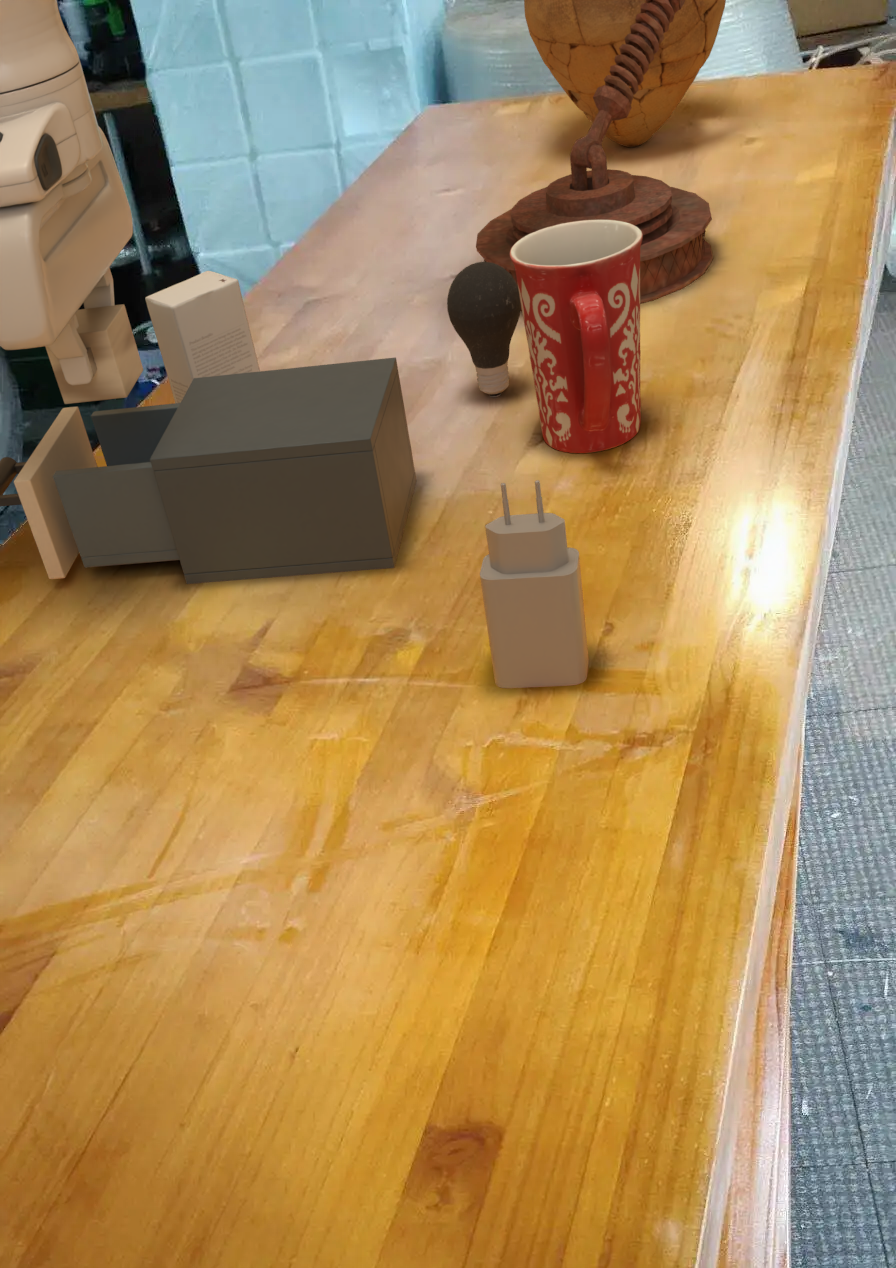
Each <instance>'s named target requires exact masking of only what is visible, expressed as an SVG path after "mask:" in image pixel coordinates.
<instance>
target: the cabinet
mask: <svg viewBox="0 0 896 1268" xmlns="http://www.w3.org/2000/svg"><path fill="white" fill-rule="evenodd" d="M398 368H399V367H398V362H397V357H385V358H376V359H367V360H357V361H348V362H347V361H346V362H338V363H329V364H319V365H309V366H300V367H299V366H298V367H290V368H289V367H288V368H281V369H270V370H260V372H250V373H240V374H231V375H221V376H211V377H202V378H194V379H193V381H192V383H191V384H190V386H189V388H188V390H187V392H186V394H185V395H184V397H183V399H182V401H181V403H180V405H179V407H178V408H177V410H176V412H175V414H174V416H173V418H172V419H171V421H170V423H169V425H168V427H167V429H166V430H165V432H164V434H163V436H162V438H161V440H160V442H159V443H158V445H157V447H156V449H155V451H154V453H153V454H152V456H151V458H150V462H151V465H152V469H153V471H154V475H155V478H156V481H157V485H158V488H159V492H160V495H161V498H162V502H163V505H164V509H165V512H166V515H167V519H168V522H169V525H170V529H171V532H172V536H173V539H174V542H175V546H176V549H177V552H178V556H179V559H180V560H179V562H180V566H181V569H182V572H183V577H184V580H185V583H186V585H192V584H205V583H219V582H232V581H233V582H234V581H246V580H259V579H268V578H269V579H272V578H282V577H283V578H284V577H294V576H295V577H296V576H307V575H308V576H309V575H321V574H322V575H323V574H334V573H336V574H337V573H347V572H348V573H349V572H360V571H373V570H384V569H385V570H386V569H394V568H396V563H397V559H398V556H399V551H400V549H401V548H400V547H401V544H402V540H403V535H404V532H405V528H406V523H407V521H408V520H407V519H408V516H409V512H410V508H411V504H412V501H413V496H414V493H415V488H416V485H417V476H416V475H417V474H416V470H415V469H416V468H415V463H414V456H413V452H412V451H413V450H412V445H411V439H410V434H409V433H410V432H409V427H408V421H407V415H406V408H405V403H404V397H403V390H402V385H401V379H400V374H399V373H400V372H399V369H398Z"/></svg>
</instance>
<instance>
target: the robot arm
mask: <svg viewBox="0 0 896 1268" xmlns="http://www.w3.org/2000/svg"><path fill="white" fill-rule="evenodd" d="M77 50H78V49H77V48H76V46H75V44H74V42H73V40H72V39H71V37H70V35H69V33H68V32H67V29H66V28H65V25H64V23H63V20H62V17H61V13H60V10H59V6H58V0H0V348H2V349H3V350H5V351H17V350H28V349H36V348H42V347H45V346H48V347H49V349H50V350H51V351H52V353H53V354H54V355H55V356H56V358H57V359H59V362H60V365H61V368H62V371H63V374H64V377H65V380H66V381H67V383H68V384H70V385H82V384H88V383H90V382H91V380H92V379H93V377H94V376H95V374H96V372H97V366H96V363H95V362H94V357H93V353H92V350H91V347H88V348H86V347H85V345H84V344H83V342H82V340H81V338H80V336H79V334H78V332H77V329H78V327H79V323H78V320H77V317H76V314H75V313H76V312H77V311H78V310H80V308H81V306H82V305H83V307H84V308H83V309H89V308H97V307H105V306H113V305H116V304H115V287H114V278H113V275H112V274H113V273H112V272H111V266H112V264H113V263H114V262H115V260H116V259H117V257H119V255H120V253H121V252H122V251H123V249H124V248H125V246H126V245H127V244H128V242H129V241H130V240H131V238H132V237H133V235H134V227H133V215H132V209H131V205H130V203H129V200H128V197H127V193H126V191H125V187H124V184H123V181H122V178H121V174H120V172H119V169H118V166H117V163H116V161H115V157H114V154H113V151H112V149H111V147H110V144H109V141H108V139H107V137H106V135H105V133H104V131H103V129H102V128H101V127H100V126H99V123H98V120H97V116H96V111H95V109H94V105H93V102H92V99H91V95H90V91H89V89H88V88H89V87H88V85H87V82H86V77H85V74H84V71H83V70H84V69H83V66H82V63H81V60H80V56H79V53H78V51H77Z"/></svg>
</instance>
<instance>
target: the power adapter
mask: <svg viewBox="0 0 896 1268" xmlns="http://www.w3.org/2000/svg"><path fill="white" fill-rule="evenodd" d="M534 488H535V496H536V497H535V502H536V510H537V511H536V513H524V514H523V513H522V514H511V513H510V503H509V499H508V493H507V485H506V483H505V482H501V483H500V489H501V498H502V502H501V503H502V509H503V515H502V516H499V517H497V518H495V519H493V520H492V521H489V522H488V523H486V524H485V526H484V527H485V535H486V542H487V550H488V554H487V555H485V556H484V557H483V559H482V563H481V567H480V571H479V579H480V586H481V593H482V601H483V608H484V613H485V620H486V628H487V635H488V642H489V649H490V656H491V664H492V671H493V678H494V684H495V686H496V687H498V688H501V689H520V688H522V689H524V688H539V687H540V688H543V687H564V686H566V687H567V686H569V687H570V686H577V685H580V684H582V683H584V682H586V680H587V678H588V671H589V661H590V660H589V651H588V639H587V638H588V637H587V627H586V616H585V615H586V614H585V605H584V603H585V602H584V593H583V582H582V573H581V571H582V570H581V559H580V551H579V550H578V549H577V548H574V547H568V541H567V540H568V539H567V529H566V519H564V518H563V517H561V516H559V515H557V514H555V513H553V512H544V503H543V497H542V491H541V489H542V488H541V481H540V480H539V479H537V480H535V481H534Z"/></svg>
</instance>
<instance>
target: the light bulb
mask: <svg viewBox="0 0 896 1268" xmlns="http://www.w3.org/2000/svg"><path fill="white" fill-rule="evenodd" d="M446 298H447V299H446V308H447V313H448V314H447V315H448V317H449V321H450V323H451V325H452V327H453V329H454V331H455V333H457V335H458V336H459V338H460V339H461V341H462V342H463V343H464V345H465V346H466V348H467V349H468V352H469V354H470V358H471V361H472V363H473V365H474V368H475V372H476V377H477V378H476V380H477V386H478V388H479V390H480V392H482V393H484V394H487V395H488V396H489V397H490V398H497V397H500V396H501V395H502V392H504V391H505V390H506V389H507V388H508V387H509V386H510V382H509V380H510V373H509V366H508V365H509V364H508V363H509V357H510V347H511V342H512V338H513V336H514V333H515V330H516V327H517V325H518V323H519V320H520V316H521V312H522V311H521V302H520V296H519V289H518V286H517V284H516V281H515V280H514V278H513V277H512V276H511V274H510V273H509V272H508V271H506V270H505V269H504V268H503V267H501V266H499V265H497V264H495V263H491V262H484V261H479V262H475V263H471V264H469V265H467V266H465V267H464V268H463V269H462V270H460V271H459V272H458V273H457V275H455V277H454V279H453V280H452V282H451V284H450V287H449V289H448V294H447V297H446Z"/></svg>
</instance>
